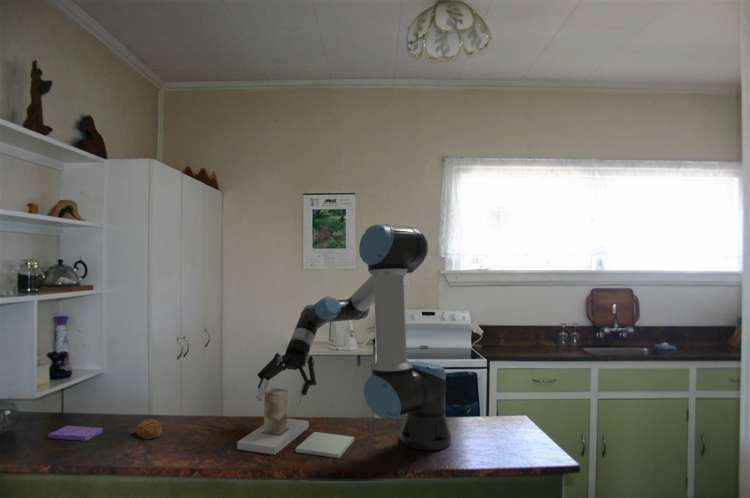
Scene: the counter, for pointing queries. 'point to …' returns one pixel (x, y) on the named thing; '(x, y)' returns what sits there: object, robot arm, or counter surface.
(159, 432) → the pastry
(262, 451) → the plate with hole
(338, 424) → the counter surface
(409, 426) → the robot arm
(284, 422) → the peg
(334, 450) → the tile
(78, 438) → the sponges
